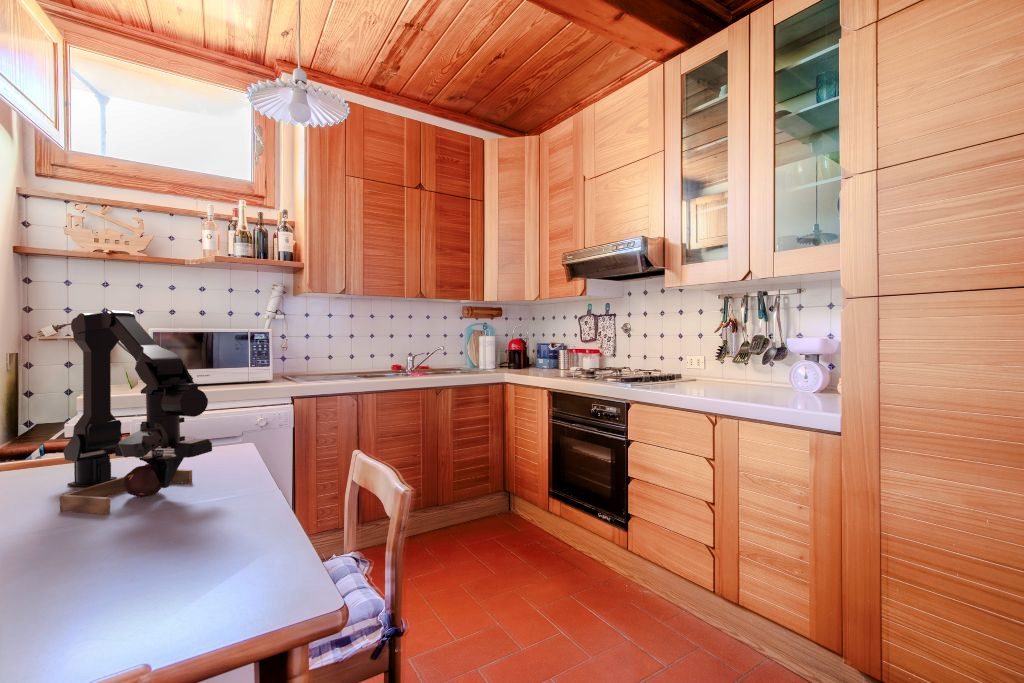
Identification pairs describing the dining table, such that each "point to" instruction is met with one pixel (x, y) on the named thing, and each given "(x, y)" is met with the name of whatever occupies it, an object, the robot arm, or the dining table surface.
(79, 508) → the holder
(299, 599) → the dining table surface
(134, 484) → the icecream
